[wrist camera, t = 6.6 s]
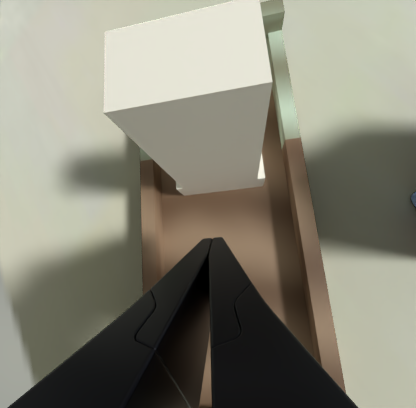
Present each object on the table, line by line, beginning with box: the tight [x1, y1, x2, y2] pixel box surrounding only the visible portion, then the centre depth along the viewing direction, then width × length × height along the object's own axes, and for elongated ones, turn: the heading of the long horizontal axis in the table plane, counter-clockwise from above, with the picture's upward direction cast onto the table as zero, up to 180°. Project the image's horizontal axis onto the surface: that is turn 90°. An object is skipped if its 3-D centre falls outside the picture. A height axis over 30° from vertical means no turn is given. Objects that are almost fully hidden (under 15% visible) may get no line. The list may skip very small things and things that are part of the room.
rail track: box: [140, 0, 346, 408], centre depth 16 cm, size 28×12×4 cm, turn 5°
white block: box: [104, 0, 272, 196], centre depth 13 cm, size 11×6×11 cm, turn 5°
